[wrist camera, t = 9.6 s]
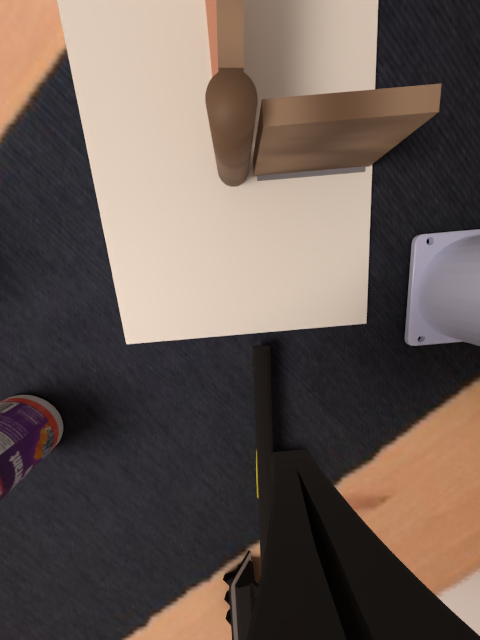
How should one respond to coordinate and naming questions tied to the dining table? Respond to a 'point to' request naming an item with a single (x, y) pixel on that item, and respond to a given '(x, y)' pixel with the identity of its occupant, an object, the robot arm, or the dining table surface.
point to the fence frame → (309, 126)
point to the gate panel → (230, 34)
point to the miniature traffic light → (243, 578)
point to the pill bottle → (25, 436)
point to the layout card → (201, 170)
